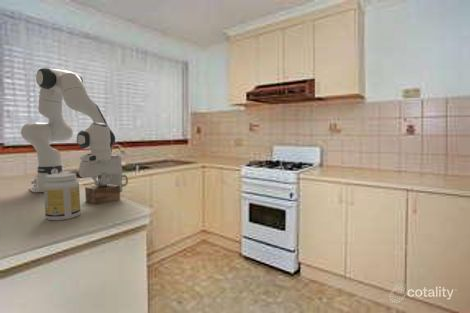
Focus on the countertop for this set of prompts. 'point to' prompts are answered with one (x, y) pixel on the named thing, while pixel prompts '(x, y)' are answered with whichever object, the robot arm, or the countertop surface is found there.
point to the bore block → (102, 193)
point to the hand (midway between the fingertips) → (102, 184)
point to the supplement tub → (61, 196)
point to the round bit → (102, 180)
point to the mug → (118, 180)
